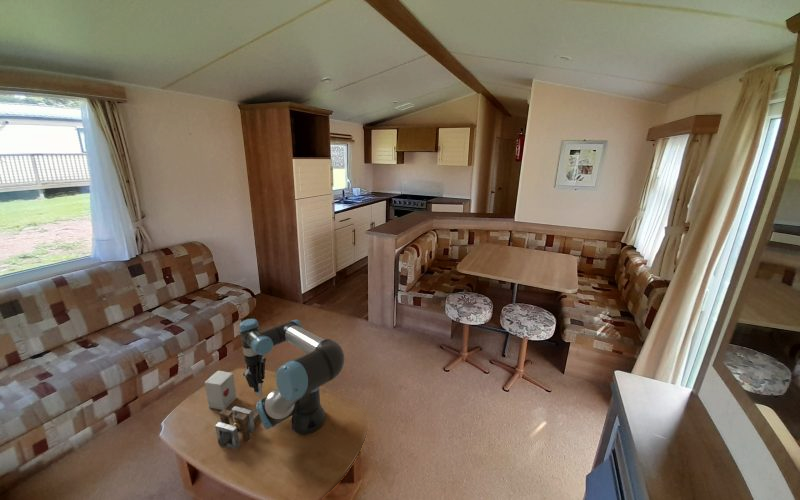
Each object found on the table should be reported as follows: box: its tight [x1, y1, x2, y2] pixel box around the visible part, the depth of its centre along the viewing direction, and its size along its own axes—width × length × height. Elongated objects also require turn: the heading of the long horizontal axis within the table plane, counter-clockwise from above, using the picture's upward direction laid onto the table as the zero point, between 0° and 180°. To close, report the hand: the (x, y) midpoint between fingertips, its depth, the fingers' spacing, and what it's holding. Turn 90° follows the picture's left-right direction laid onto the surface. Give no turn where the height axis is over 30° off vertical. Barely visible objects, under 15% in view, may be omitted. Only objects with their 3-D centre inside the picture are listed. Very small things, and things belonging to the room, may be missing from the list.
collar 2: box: [230, 405, 256, 434], centre depth 141 cm, size 9×2×10 cm, turn 75°
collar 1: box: [214, 421, 241, 451], centre depth 133 cm, size 9×2×10 cm, turn 75°
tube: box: [217, 413, 253, 448], centre depth 137 cm, size 16×4×4 cm, turn 165°
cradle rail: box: [252, 394, 269, 424], centre depth 152 cm, size 4×15×3 cm, turn 165°
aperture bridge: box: [219, 408, 251, 443], centre depth 137 cm, size 12×2×12 cm, turn 75°
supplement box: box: [204, 370, 237, 411], centre depth 155 cm, size 9×9×15 cm
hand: (259, 395), depth 150 cm, fingers closed
